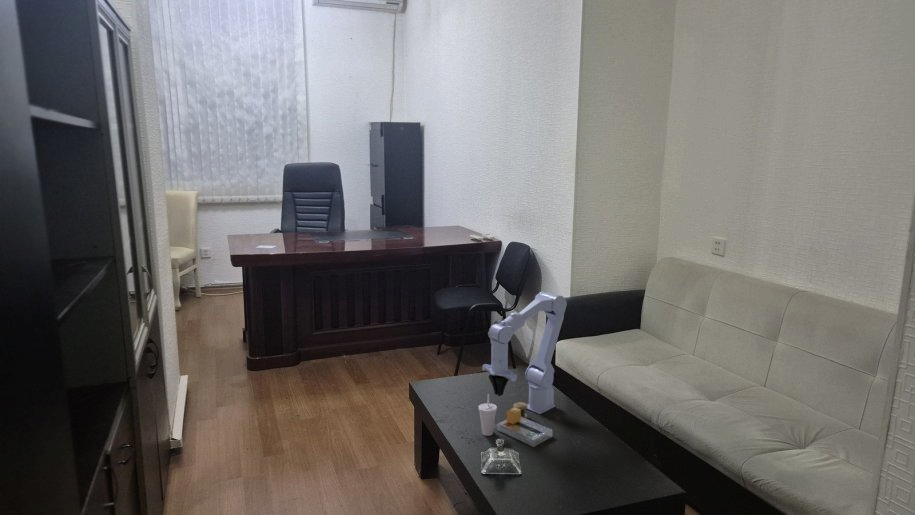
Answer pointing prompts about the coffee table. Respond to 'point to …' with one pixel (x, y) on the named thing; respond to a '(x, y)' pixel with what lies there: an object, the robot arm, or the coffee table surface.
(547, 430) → the panel
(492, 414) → the smoothie
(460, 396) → the coffee table surface
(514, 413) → the toggle
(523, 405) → the reel
